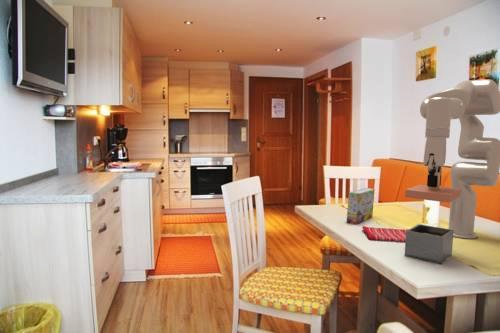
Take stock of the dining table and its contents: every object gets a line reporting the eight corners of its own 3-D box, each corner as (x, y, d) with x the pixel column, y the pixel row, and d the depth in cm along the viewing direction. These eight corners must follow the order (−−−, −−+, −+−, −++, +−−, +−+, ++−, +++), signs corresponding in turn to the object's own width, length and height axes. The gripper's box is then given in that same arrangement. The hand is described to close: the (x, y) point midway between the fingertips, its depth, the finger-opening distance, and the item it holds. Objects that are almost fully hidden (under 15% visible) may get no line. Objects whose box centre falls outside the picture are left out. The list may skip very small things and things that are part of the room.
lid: (419, 191, 145) (420, 168, 144) (460, 196, 136) (462, 172, 135) (405, 197, 133) (406, 172, 132) (449, 202, 124) (451, 176, 123)
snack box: (357, 225, 178) (359, 193, 177) (346, 223, 182) (347, 191, 180) (373, 217, 195) (375, 188, 194) (362, 216, 199) (364, 187, 197)
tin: (417, 247, 146) (418, 224, 145) (451, 254, 138) (453, 230, 137) (404, 255, 135) (406, 230, 134) (441, 264, 127) (443, 237, 126)
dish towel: (361, 230, 170) (361, 225, 170) (416, 234, 167) (417, 228, 167) (367, 241, 153) (368, 235, 153) (429, 245, 150) (430, 238, 150)
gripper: (432, 133, 141) (429, 182, 143) (418, 133, 129) (415, 187, 131) (455, 133, 136) (451, 184, 138) (442, 134, 124) (438, 190, 126)
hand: (433, 185), depth 134 cm, fingers closed on lid, 3 cm apart
